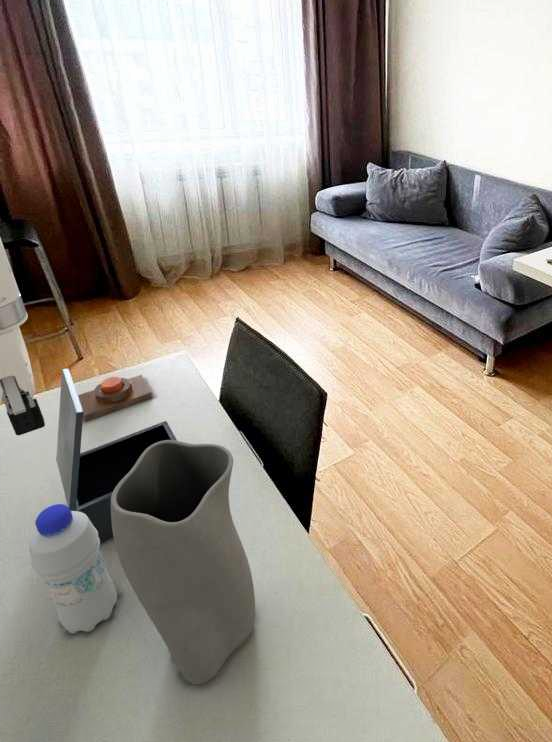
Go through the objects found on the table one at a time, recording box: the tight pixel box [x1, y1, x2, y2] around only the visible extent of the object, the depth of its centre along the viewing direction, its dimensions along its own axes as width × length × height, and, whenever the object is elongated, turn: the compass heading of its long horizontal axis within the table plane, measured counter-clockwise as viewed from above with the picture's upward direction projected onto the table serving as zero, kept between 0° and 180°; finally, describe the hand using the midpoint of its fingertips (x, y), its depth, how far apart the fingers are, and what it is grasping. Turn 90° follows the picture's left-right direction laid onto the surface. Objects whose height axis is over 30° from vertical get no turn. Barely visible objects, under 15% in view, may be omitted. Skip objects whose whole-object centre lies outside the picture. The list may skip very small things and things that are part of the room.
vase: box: [111, 440, 257, 686], centre depth 59 cm, size 12×12×30 cm
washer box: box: [72, 420, 178, 544], centre depth 82 cm, size 16×13×9 cm
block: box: [77, 374, 153, 422], centre depth 105 cm, size 12×8×4 cm, turn 132°
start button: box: [100, 376, 123, 393], centre depth 103 cm, size 4×4×2 cm
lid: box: [55, 368, 84, 511], centre depth 73 cm, size 16×13×1 cm
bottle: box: [28, 503, 118, 634], centre depth 63 cm, size 7×7×20 cm
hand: (30, 427), depth 69 cm, fingers closed
